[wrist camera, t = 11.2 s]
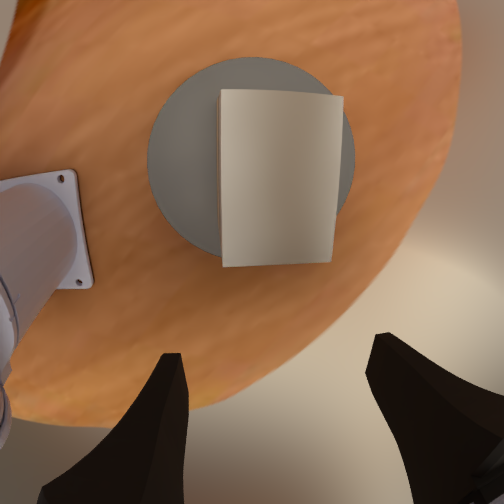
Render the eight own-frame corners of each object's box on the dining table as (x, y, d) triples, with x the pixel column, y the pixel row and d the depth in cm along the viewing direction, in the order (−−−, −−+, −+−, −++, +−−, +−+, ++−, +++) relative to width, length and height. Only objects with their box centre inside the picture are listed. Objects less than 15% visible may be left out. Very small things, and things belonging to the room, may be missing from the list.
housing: (217, 216, 17) (222, 267, 11) (216, 101, 14) (221, 89, 9) (292, 214, 17) (330, 261, 12) (296, 103, 15) (343, 96, 9)
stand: (161, 247, 20) (155, 264, 17) (154, 68, 15) (145, 60, 13) (330, 241, 21) (345, 256, 19) (341, 73, 17) (358, 68, 14)
